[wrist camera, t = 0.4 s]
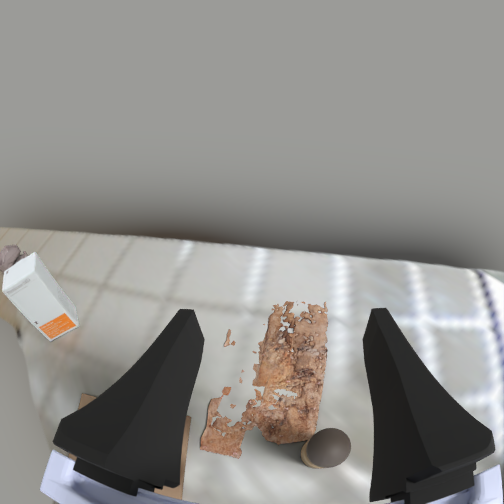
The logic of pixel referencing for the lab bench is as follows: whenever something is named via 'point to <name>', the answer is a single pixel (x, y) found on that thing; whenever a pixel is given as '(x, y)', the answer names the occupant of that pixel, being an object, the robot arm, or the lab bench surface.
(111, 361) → the lab bench surface
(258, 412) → the bark
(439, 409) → the robot arm
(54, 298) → the skincare box
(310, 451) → the wood peg
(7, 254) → the dental mold
